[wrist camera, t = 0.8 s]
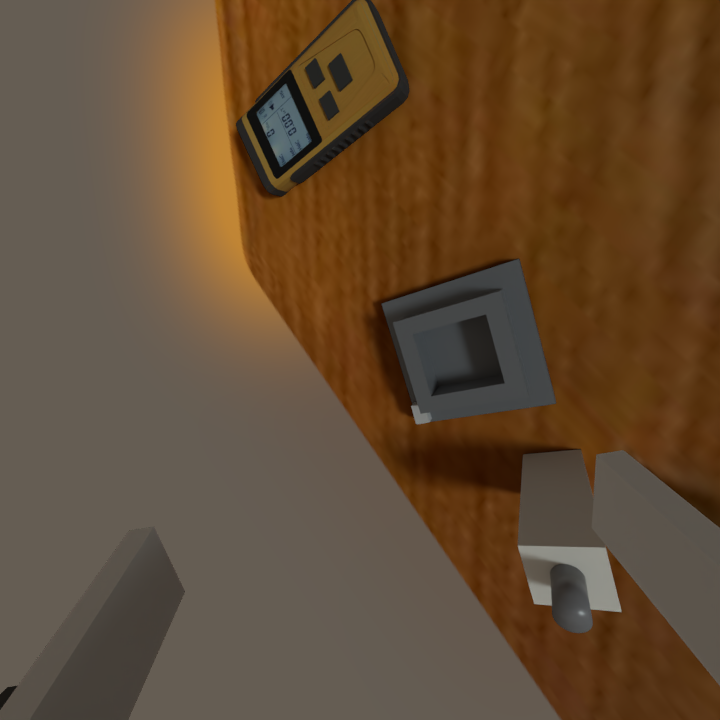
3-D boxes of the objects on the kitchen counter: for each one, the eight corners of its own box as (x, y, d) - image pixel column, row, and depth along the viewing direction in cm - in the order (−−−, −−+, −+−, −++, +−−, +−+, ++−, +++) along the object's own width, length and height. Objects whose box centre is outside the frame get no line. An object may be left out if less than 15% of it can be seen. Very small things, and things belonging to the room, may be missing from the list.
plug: (522, 454, 36) (515, 580, 22) (580, 449, 33) (615, 586, 19) (534, 495, 36) (534, 644, 22) (592, 493, 34) (633, 658, 20)
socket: (386, 302, 38) (369, 307, 34) (519, 258, 32) (517, 258, 28) (421, 417, 39) (409, 435, 35) (555, 397, 33) (557, 416, 29)
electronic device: (417, 100, 33) (406, 83, 29) (286, 201, 40) (266, 196, 37) (376, 5, 32) (360, -22, 29) (251, 126, 40) (228, 115, 37)
